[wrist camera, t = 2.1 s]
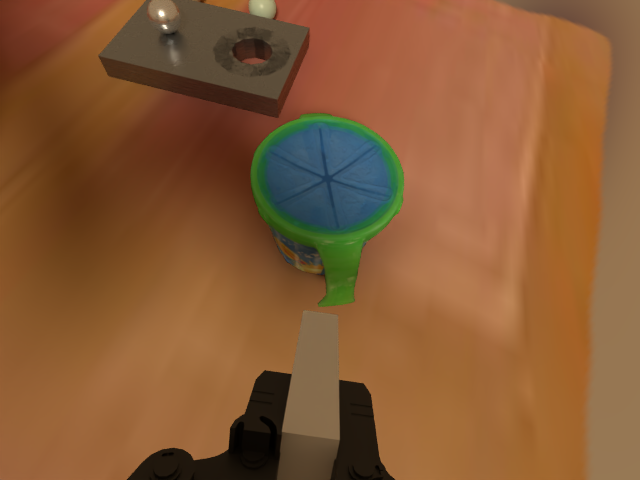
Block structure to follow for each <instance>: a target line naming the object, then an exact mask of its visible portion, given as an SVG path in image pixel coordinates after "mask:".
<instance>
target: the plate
mask: <svg viewBox="0 0 640 480" xmlns="http://www.w3.org/2000/svg"><path fill="white" fill-rule="evenodd" d="M150 1H151V0H146V1H145V2H144V4H143V5H142V6H141V7H140V8H139V9H138V10H137V12H136V13H135V14H134V15H133V16H132V17H131V19H130V20H129V21H128V22H127V23H126V24H125V26H124V27H123V28H122V29H121V30H120V31H119V32H118V34H117V35H116V36H115V37H114V38H113V39H112V41H111V42H110V43H109V44H108V45H107V46H106V48H105V49H104V50H103V51H102V52H101V53H100V54H99V58H100V60H101V62H102V64H103V66H104V68H105V70H106V72H107V74H108V76H111V77H115V78H119V79H123V80H127V81H131V82H135V83H139V84H143V85H147V86H151V87H155V88H160V89H164V90H168V91H172V92H176V93H180V94H184V95H188V96H192V97H196V98H200V99H204V100H208V101H212V102H216V103H220V104H224V105H228V106H232V107H236V108H241V109H245V110H249V111H253V112H257V113H261V114H265V115H269V116H273V117H277V118H278V117H279V114H280V112H281V110H282V107H283V105H284V103H285V100H286V98H287V96H288V94H289V91H290V89H291V87H292V84H293V82H294V80H295V77H296V75H297V73H298V70H299V68H300V66H301V63H302V61H303V59H304V56H305V54H306V52H307V49H308V46H309V28H308V27H304V26H299V25H295V24H291V23H286V22H282V21H278V20H274V19H269V18H265V17H261V16H257V15H252V14H248V13H244V12H239V11H235V10H231V9H227V8H222V7H218V6H214V5H210V4H205V3H201V2H197V1H193V0H171V1H173V2H174V3H175V4H176V5H177V7H178V9H179V11H180V13H181V25H180V27H179V29H178V30H177V31H176V32H174V33H171V34H164V33H161V32H159V31H157V30H156V29H155V28H154V27H153V26H152V25H151V23H150V22H149V19H148V16H147V7H148V4H149V2H150ZM247 58H260V59H264V60H266V61H265V62H263V63H260V64H252V65H250V64H246V63H242V62H240V61H242V60H244V59H247Z"/></svg>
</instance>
